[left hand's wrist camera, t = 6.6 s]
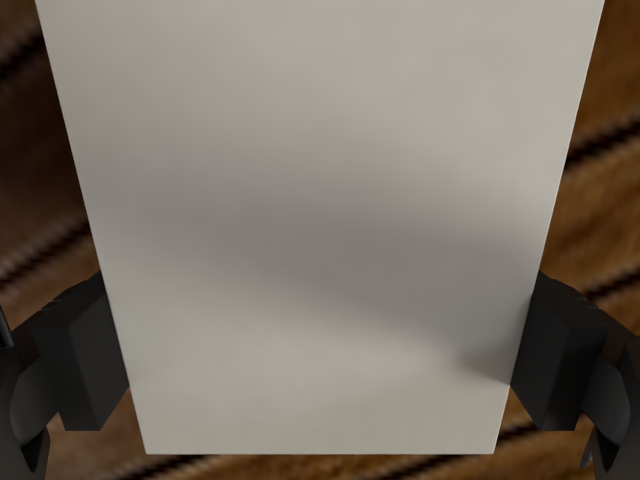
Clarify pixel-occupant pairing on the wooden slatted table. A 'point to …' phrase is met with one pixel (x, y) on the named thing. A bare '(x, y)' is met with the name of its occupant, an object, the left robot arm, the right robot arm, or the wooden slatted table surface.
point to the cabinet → (319, 208)
